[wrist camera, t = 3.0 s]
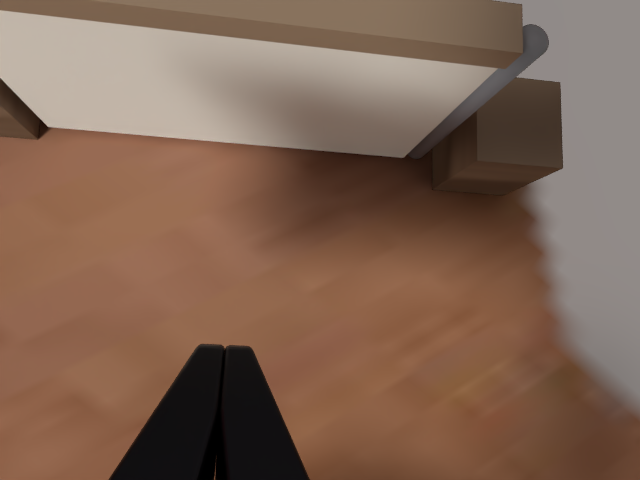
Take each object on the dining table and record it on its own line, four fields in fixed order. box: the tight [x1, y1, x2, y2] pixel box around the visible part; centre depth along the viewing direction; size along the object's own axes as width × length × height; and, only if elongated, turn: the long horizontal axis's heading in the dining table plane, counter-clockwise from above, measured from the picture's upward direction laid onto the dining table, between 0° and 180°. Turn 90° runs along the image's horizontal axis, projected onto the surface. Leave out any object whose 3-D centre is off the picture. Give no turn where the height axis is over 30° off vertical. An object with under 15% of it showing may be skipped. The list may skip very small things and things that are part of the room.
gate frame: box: [0, 77, 563, 195], centre depth 18 cm, size 3×19×4 cm, turn 88°
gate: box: [0, 0, 549, 159], centre depth 16 cm, size 1×14×9 cm, turn 88°
